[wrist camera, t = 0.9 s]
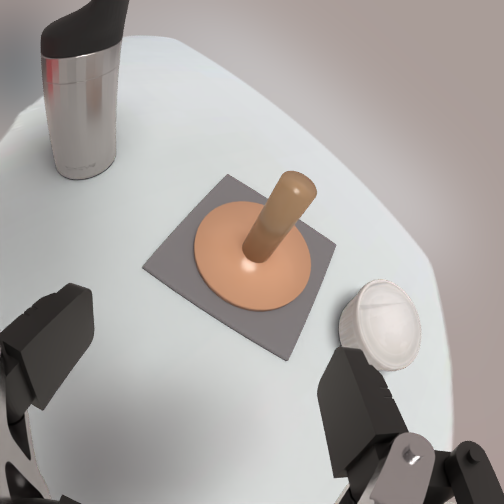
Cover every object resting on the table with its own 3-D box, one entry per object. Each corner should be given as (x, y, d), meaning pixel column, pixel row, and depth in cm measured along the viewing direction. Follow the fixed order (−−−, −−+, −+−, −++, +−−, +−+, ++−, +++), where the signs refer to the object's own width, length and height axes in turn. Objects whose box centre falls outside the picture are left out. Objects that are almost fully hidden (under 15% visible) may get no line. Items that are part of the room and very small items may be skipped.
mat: (142, 268, 28) (142, 266, 28) (226, 175, 39) (227, 173, 38) (286, 361, 28) (288, 360, 28) (334, 246, 39) (336, 244, 38)
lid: (184, 208, 33) (203, 128, 23) (284, 204, 39) (327, 140, 29) (209, 322, 27) (245, 270, 18) (322, 298, 33) (389, 249, 23)
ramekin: (360, 280, 37) (384, 262, 33) (405, 337, 35) (431, 326, 31) (313, 329, 31) (339, 314, 27) (367, 394, 29) (398, 389, 25)
